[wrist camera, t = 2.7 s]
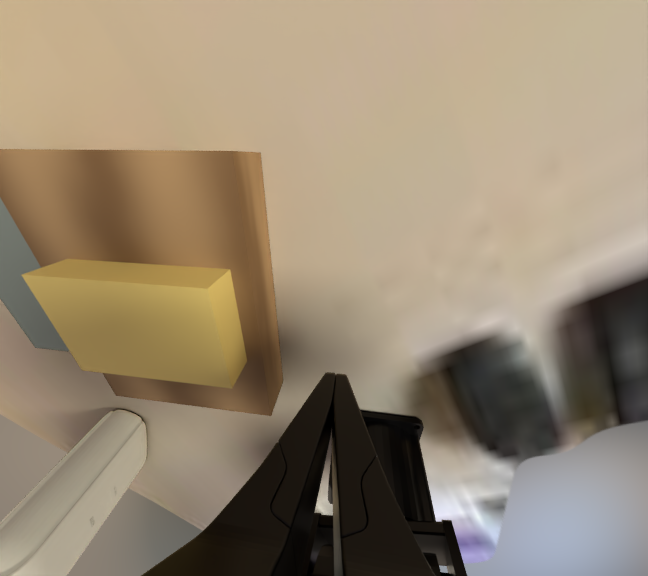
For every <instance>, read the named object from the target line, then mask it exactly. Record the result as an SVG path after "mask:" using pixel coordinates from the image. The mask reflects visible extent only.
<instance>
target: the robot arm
mask: <svg viewBox="0 0 648 576" xmlns="http://www.w3.org/2000/svg"><path fill="white" fill-rule="evenodd" d="M331 429H332V455H331V465H330V475H329V488H328V500H329V502H330V504H333V516H331V515H321V513H314V511H315V507H316V502H317V497H318V492H319V488H320V483H321V478H322V473H323V469H324V464H325V459H326V455H327V450H328V445H329V440H330V435H331ZM422 431H423V423H422V421H421V420H420V419H417V418H409V417H401V416H393V415H385V414H377V413H369V412H361V411H360V409H359V406H358V404H357V401H356V398H355V396H354V393H353V390H352V388H351V385H350V383H349V380H348V377H347V375H345V374H335V373H328V372H327V373H325V374H324V376H323V377H322V379H321V380H320V382H319V383H318V384H317V386H316V387H315V389H314V390H313V392H312V393H311V395H310V396H309V397H308V399H307V400H306V402H305V403H304V405H303V406H302V408H301V409H300V410H299V412H298V413H297V415H296V416H295V418H294V419H293V421H292V422H291V423H290V425H289V426H288V428H287V429H286V431H285V432H284V434H283V435H282V436H281V438H280V439H279V441H278V442H279V443H276V445H275V446H274V448H273V449H272V451H271V452H270V453H269V455H268V456H267V458H266V459H265V460H264V462H263V463H262V464H261V466H260V467H259V468H258V469H257V470H256V472H255V473H254V474H253V475H252V477H251V478H250V479H249V480H248V481H247V483H246V484H245V485H244V486H243V487H242V488H241V489H240V491H239V492H238V493H237V494H236V495H235V496H234V498H233V499H232V500H231V501H230V502H229V503H228V504H227V506H226V507H225V508H224V509H223V510H222V511H221V513H220V514H219V515H218V516H217V517H216V518H215V519H214V520H213V522H212V523H211V524H210V525H209V526H208V527H207V528H206V529H205V530H203V531H202V532H201V533H200V534H199V535H198V536H196V538H194V539H193V540H191V541H190V542H188V543H187V544H186V545H184V546H183V547H181V548H180V549H178V550H177V551H176V552H174V553H173V554H171V555H170V556H169V557H167V558H166V559H164V560H163V561H161V562H160V563H158V564H157V565H156V566H154V567H153V568H151V569H150V570H149V571H147V572H146V573H144V574H143V575H141V576H467V574H466V571H465V567H464V563H463V560H462V556H461V553H460V549H459V546H458V542H457V539H456V535H455V532H454V528H453V525H452V521H451V520H442V522H436V520H435V515H434V510H433V505H432V500H431V496H430V491H429V486H428V481H427V476H426V472H425V467H424V462H423V457H422V452H421V448H420V443H419V440H420V437H421V434H422ZM439 565H442V566H447V569H448V573H442V572H440V568H439Z"/></svg>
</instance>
